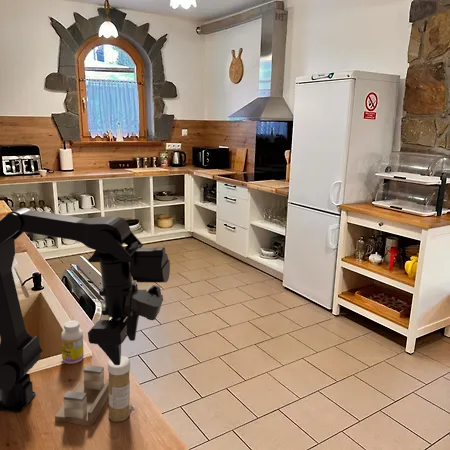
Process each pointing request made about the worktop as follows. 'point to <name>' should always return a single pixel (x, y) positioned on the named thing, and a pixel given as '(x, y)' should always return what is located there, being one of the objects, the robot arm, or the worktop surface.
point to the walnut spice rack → (85, 398)
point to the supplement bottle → (72, 342)
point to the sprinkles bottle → (119, 389)
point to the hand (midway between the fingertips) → (125, 351)
